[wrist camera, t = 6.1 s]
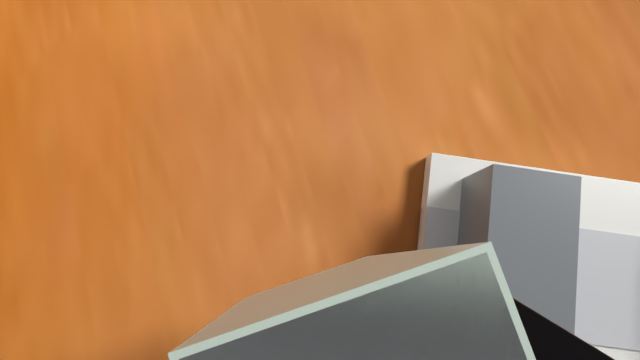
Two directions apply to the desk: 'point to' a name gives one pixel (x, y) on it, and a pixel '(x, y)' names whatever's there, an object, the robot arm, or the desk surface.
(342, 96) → the desk surface
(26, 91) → the desk surface
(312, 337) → the block
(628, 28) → the desk surface
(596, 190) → the rail board
